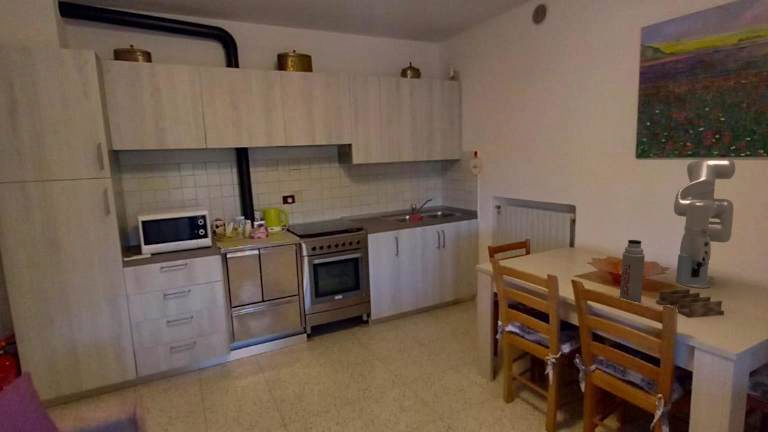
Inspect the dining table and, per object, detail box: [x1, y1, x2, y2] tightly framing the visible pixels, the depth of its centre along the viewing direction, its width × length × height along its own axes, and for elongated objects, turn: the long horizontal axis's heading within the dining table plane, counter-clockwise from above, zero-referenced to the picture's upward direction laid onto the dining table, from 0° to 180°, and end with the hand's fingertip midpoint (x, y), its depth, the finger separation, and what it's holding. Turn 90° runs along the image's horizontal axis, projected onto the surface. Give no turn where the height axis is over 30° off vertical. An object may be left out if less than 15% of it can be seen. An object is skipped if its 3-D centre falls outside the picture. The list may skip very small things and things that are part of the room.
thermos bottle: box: [619, 239, 645, 304], centre depth 174 cm, size 8×8×28 cm
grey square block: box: [675, 253, 710, 285], centre depth 167 cm, size 12×2×12 cm, turn 99°
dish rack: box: [655, 288, 725, 319], centre depth 169 cm, size 16×16×6 cm
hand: (691, 275), depth 167 cm, fingers closed on grey square block, 2 cm apart
